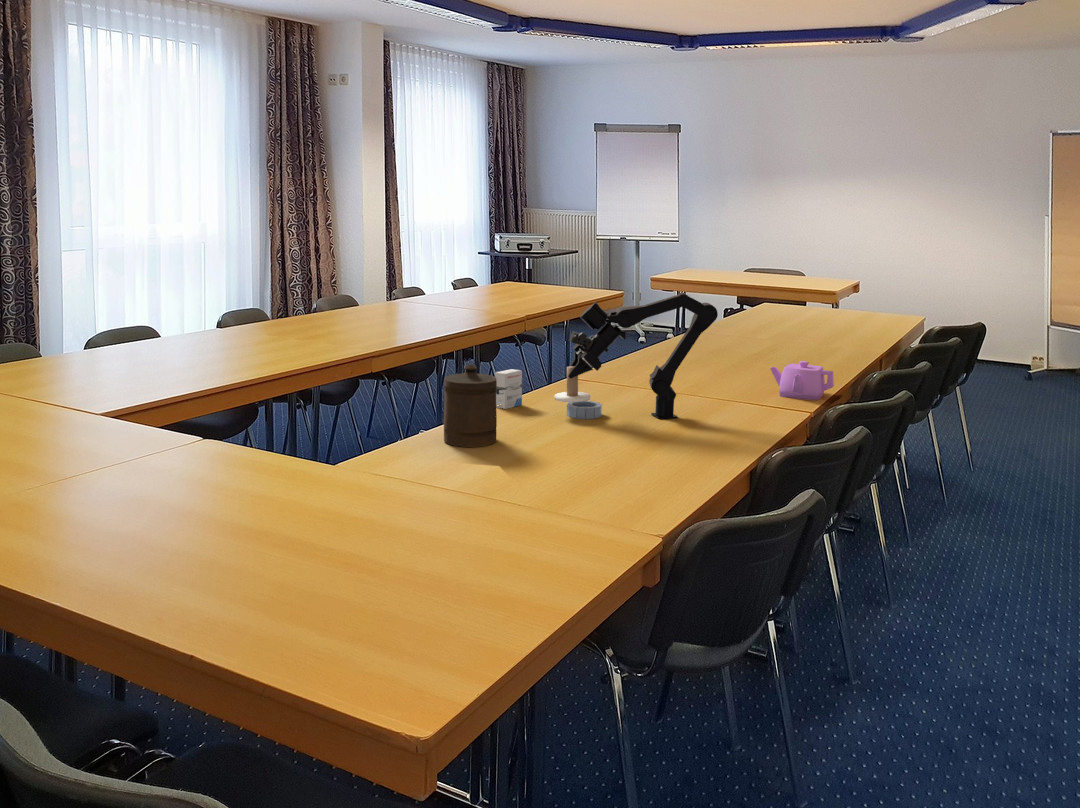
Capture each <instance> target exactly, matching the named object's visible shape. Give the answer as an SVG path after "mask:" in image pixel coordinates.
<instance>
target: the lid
mask: <svg viewBox="0 0 1080 808" xmlns="http://www.w3.org/2000/svg"><path fill="white" fill-rule="evenodd" d="M574 367H575V366H571V365H570V366H566V373H567V375H566V391H563V392H558V393H556V394H554V400H555V401H557V402H562V403H569V402H584V401H591V394H589V393H587V392H582V391H579V375H578V376H575V377H573V378H569V377H568V375H569V374H570V372H571V371H572V370H573V368H574Z"/></svg>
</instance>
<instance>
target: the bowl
mask: <svg viewBox="0 0 1080 808" xmlns="http://www.w3.org/2000/svg"><path fill="white" fill-rule="evenodd" d="M602 410H603V404H602V403H600V402H598V401H594V400H588V401H584V402H567V404H566V416H568V417H569V418H573V419H576V420H596V419H598V418H599V419H600V418H601V417H602V414H603V413H602V412H603V411H602Z"/></svg>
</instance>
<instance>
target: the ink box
mask: <svg viewBox="0 0 1080 808" xmlns="http://www.w3.org/2000/svg"><path fill="white" fill-rule="evenodd" d="M494 377H496V380H497V387H496V409H497V408H498V409H502V408H503V410H508V408H509V409H512V408H516V407H520V406H522V405H523V371H522V370H521V369H513V368H511V369H506V370H501V371H495V372H494ZM500 404H501V405H500ZM497 405H499V406H497Z"/></svg>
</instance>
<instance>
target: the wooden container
mask: <svg viewBox="0 0 1080 808" xmlns="http://www.w3.org/2000/svg"><path fill="white" fill-rule="evenodd" d="M477 370H478V368H477V366H476V365H475V364H473V363H469V364H468V363H467V364H466V365H464V372H463V373H453V374H449V375H447V376H444V383H443V385H444V391H443V397H444V398H443V401H444V402H443V442H444V443H446V444H447V445H450V446H452V447H453V446H454V447H459V448H480V447H487V446H490V445H493V444H494V443H496V442H497V424H498V423H497V422H498V421H497V416H498V415H497V407H496V387H497V380H496V377H495V375H491V374H486V373H477Z"/></svg>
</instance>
